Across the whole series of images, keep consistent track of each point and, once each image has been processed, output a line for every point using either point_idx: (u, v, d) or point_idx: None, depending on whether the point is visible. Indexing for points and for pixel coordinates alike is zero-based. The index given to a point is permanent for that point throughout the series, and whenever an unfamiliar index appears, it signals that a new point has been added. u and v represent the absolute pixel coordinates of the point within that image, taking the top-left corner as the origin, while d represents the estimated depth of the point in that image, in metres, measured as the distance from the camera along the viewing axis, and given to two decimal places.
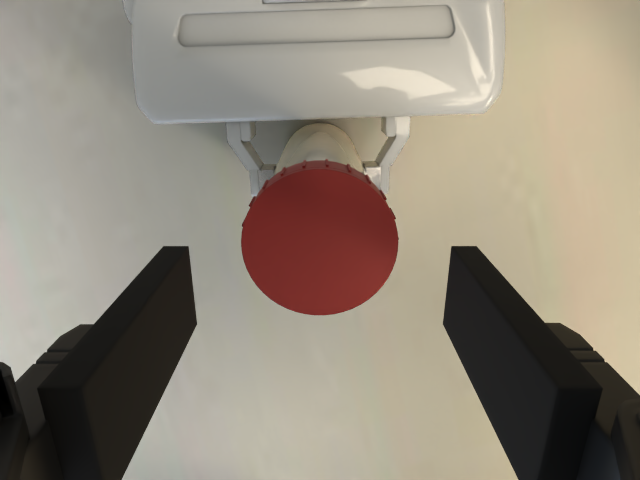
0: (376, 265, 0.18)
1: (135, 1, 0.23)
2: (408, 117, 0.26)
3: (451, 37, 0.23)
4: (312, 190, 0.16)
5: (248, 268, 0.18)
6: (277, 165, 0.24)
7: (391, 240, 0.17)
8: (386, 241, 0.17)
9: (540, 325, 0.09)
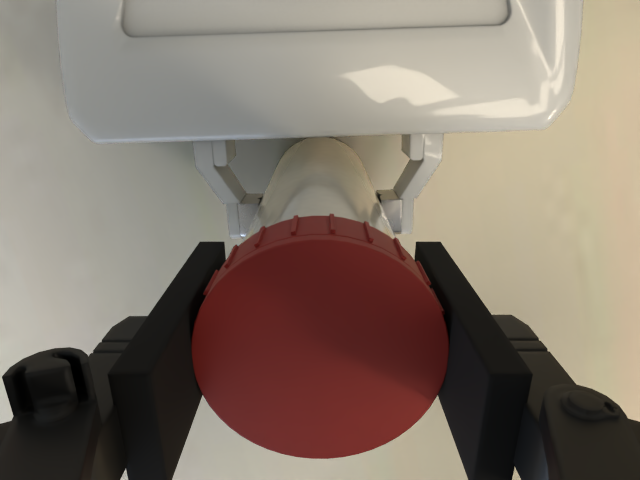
0: (412, 388, 0.11)
1: None
2: (441, 134, 0.19)
3: (506, 24, 0.17)
4: (306, 274, 0.10)
5: (204, 392, 0.11)
6: (261, 202, 0.17)
7: (438, 351, 0.10)
8: (430, 352, 0.10)
9: (485, 316, 0.10)
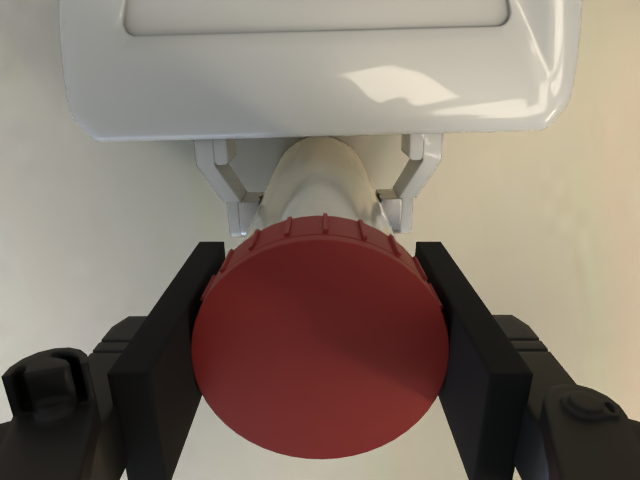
0: (304, 269, 0.10)
1: None
2: (440, 134, 0.19)
3: (505, 25, 0.17)
4: (244, 405, 0.11)
5: (404, 430, 0.11)
6: (261, 201, 0.17)
7: (250, 270, 0.10)
8: (256, 276, 0.10)
9: (486, 315, 0.10)
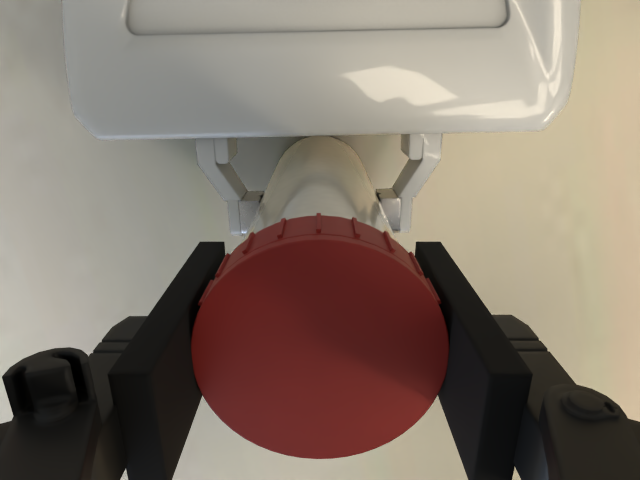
0: (241, 407, 0.11)
1: None
2: (439, 134, 0.19)
3: (505, 27, 0.17)
4: (401, 397, 0.11)
5: (360, 248, 0.09)
6: (262, 199, 0.17)
7: (266, 441, 0.11)
8: (268, 435, 0.11)
9: (486, 316, 0.10)
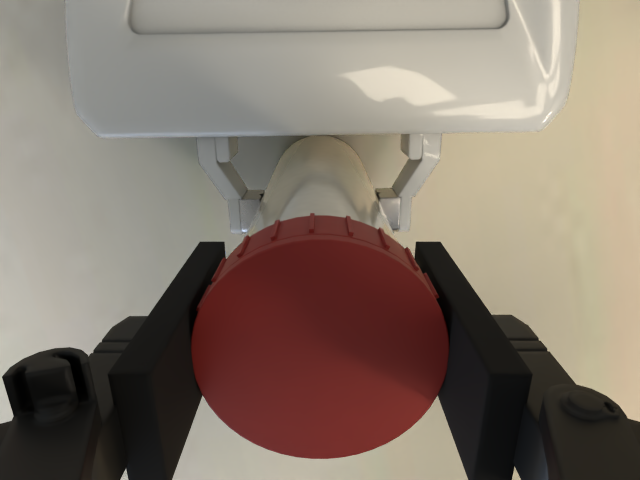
0: (406, 397, 0.11)
1: None
2: (439, 134, 0.19)
3: (504, 28, 0.17)
4: (320, 273, 0.10)
5: (198, 379, 0.11)
6: (263, 198, 0.18)
7: (437, 364, 0.10)
8: (429, 365, 0.10)
9: (485, 316, 0.10)
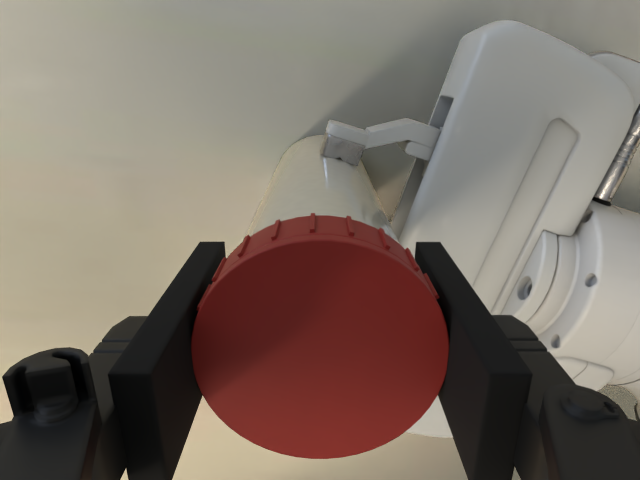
0: (406, 398, 0.11)
1: (623, 84, 0.18)
2: None
3: None
4: (320, 273, 0.10)
5: (198, 379, 0.11)
6: (377, 197, 0.18)
7: (437, 365, 0.10)
8: (429, 365, 0.10)
9: (485, 316, 0.10)
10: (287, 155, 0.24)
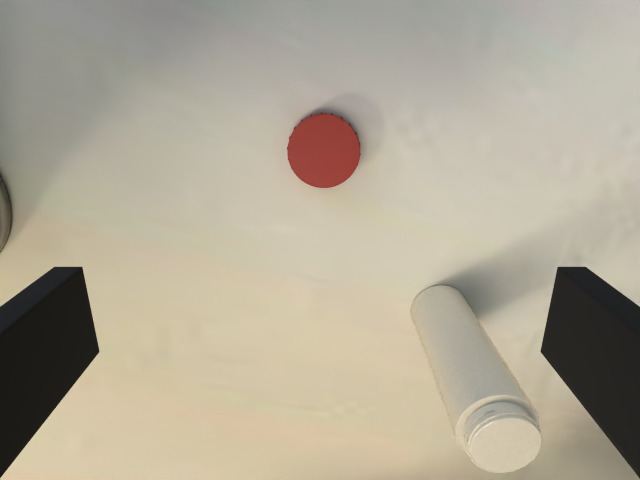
0: (348, 165, 0.38)
1: None
2: None
3: None
4: (324, 125, 0.37)
5: (289, 159, 0.38)
6: None
7: (356, 153, 0.37)
8: (354, 153, 0.37)
9: None
10: (435, 305, 0.41)
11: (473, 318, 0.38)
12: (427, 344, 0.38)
